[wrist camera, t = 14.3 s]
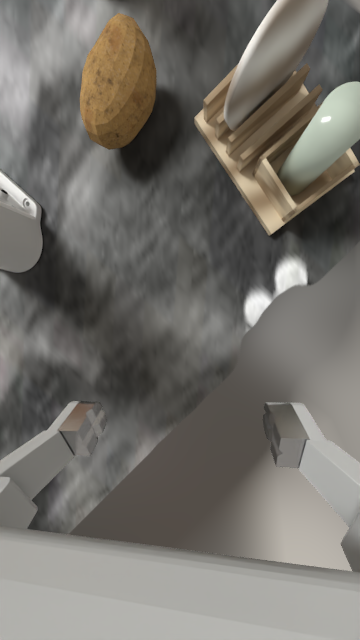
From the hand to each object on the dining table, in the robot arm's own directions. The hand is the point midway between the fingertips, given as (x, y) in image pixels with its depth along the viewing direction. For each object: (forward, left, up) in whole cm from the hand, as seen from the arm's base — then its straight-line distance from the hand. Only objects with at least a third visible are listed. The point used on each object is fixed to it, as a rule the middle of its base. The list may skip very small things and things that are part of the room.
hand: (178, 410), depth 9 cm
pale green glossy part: (-9, +25, -27) cm, 38 cm away
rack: (-15, +25, -28) cm, 41 cm away
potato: (-34, +10, -28) cm, 45 cm away
